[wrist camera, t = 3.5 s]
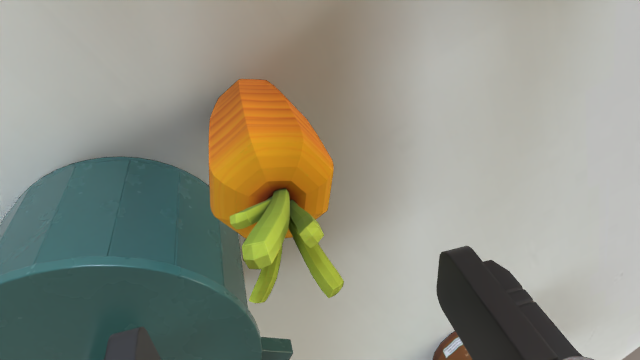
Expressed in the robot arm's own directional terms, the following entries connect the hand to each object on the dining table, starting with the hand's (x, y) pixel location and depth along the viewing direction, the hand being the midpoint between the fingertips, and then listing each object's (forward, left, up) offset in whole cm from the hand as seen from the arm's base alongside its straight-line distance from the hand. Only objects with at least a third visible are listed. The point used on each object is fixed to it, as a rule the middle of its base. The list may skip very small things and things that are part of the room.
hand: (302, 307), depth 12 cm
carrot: (0, 0, -16) cm, 16 cm away
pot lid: (+13, -4, -7) cm, 15 cm away
